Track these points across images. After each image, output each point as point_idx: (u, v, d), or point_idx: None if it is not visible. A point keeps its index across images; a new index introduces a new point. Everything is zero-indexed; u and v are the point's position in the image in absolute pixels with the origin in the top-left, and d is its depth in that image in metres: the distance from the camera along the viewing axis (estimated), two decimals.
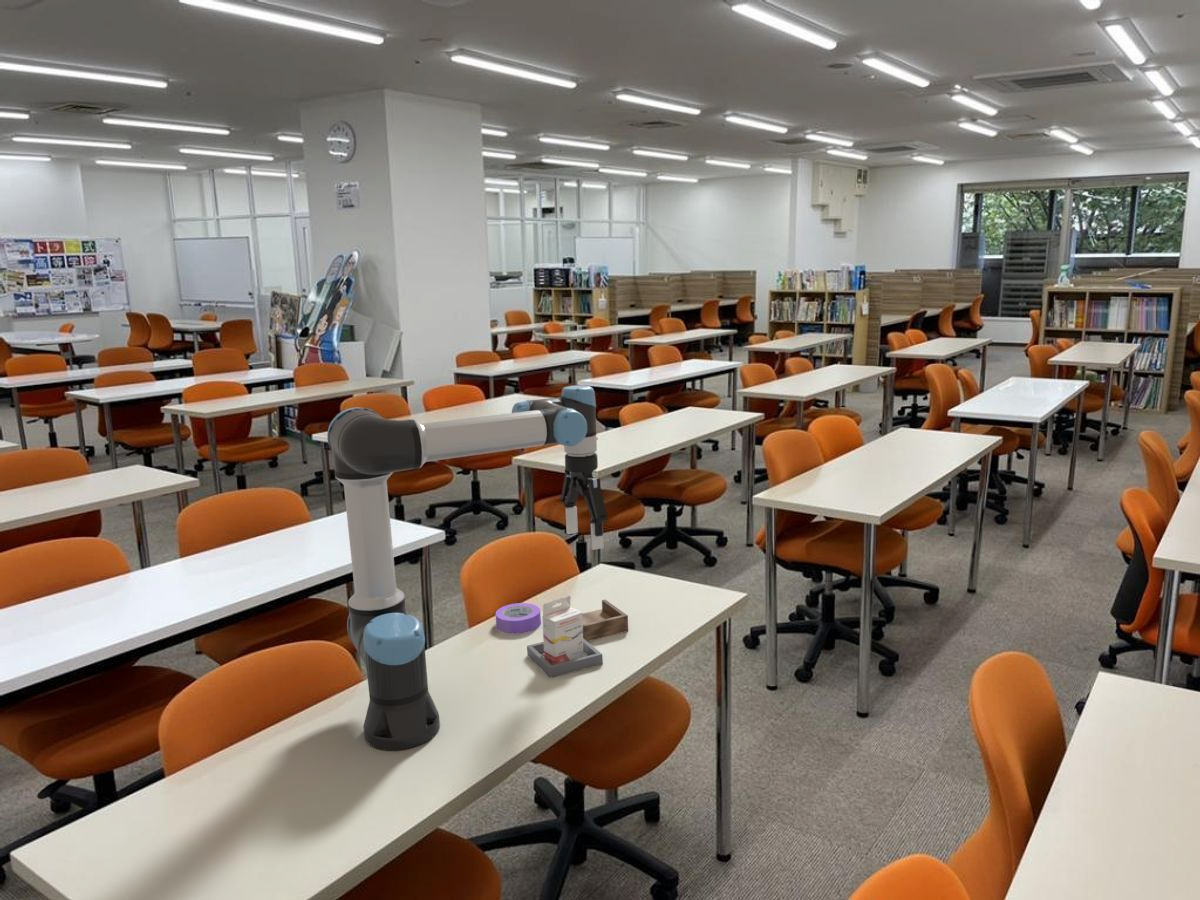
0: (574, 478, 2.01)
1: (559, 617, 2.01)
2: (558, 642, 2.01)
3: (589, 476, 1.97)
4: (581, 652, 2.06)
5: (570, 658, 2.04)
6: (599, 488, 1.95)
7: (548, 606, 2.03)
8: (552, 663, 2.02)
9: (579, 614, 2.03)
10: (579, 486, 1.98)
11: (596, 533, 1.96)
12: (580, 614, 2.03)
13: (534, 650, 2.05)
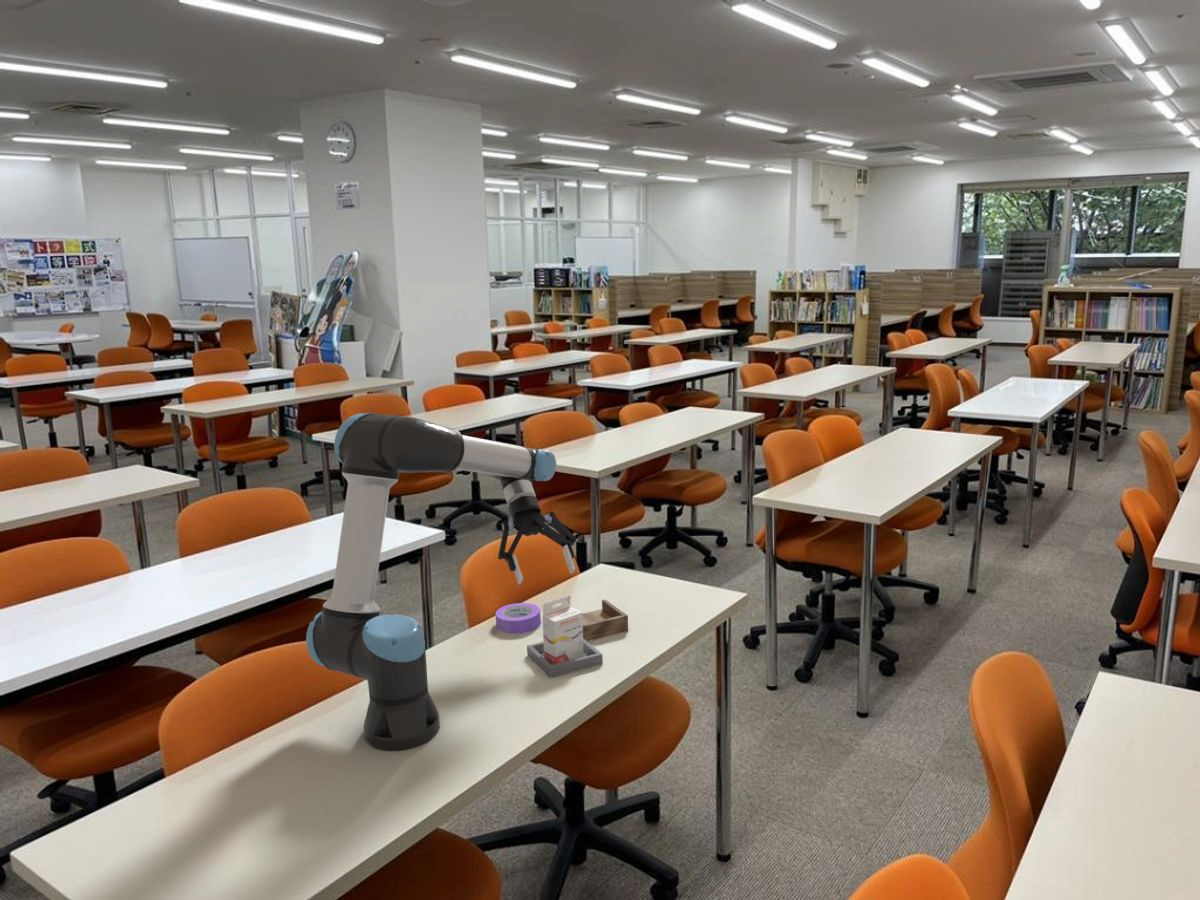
0: None
1: (559, 617, 2.01)
2: (558, 642, 2.01)
3: None
4: (581, 652, 2.06)
5: (570, 658, 2.04)
6: None
7: (548, 606, 2.03)
8: (552, 663, 2.02)
9: (579, 614, 2.03)
10: (540, 521, 2.16)
11: (572, 554, 2.15)
12: (580, 614, 2.03)
13: (534, 650, 2.05)
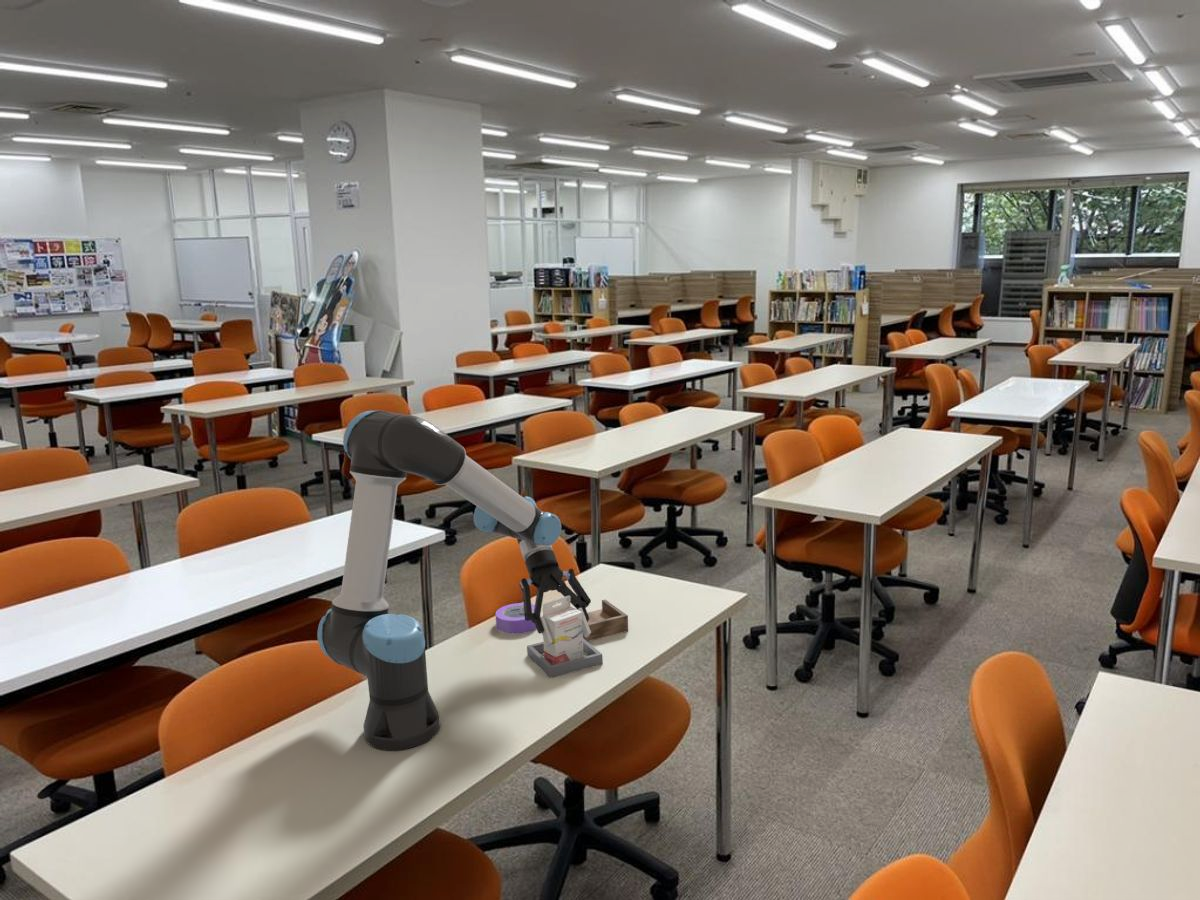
0: None
1: (559, 616, 2.01)
2: (558, 642, 2.01)
3: None
4: (581, 652, 2.06)
5: (570, 658, 2.04)
6: None
7: (548, 606, 2.03)
8: (552, 663, 2.02)
9: (579, 613, 2.03)
10: (557, 577, 2.08)
11: (587, 617, 2.05)
12: (580, 614, 2.03)
13: (534, 650, 2.05)
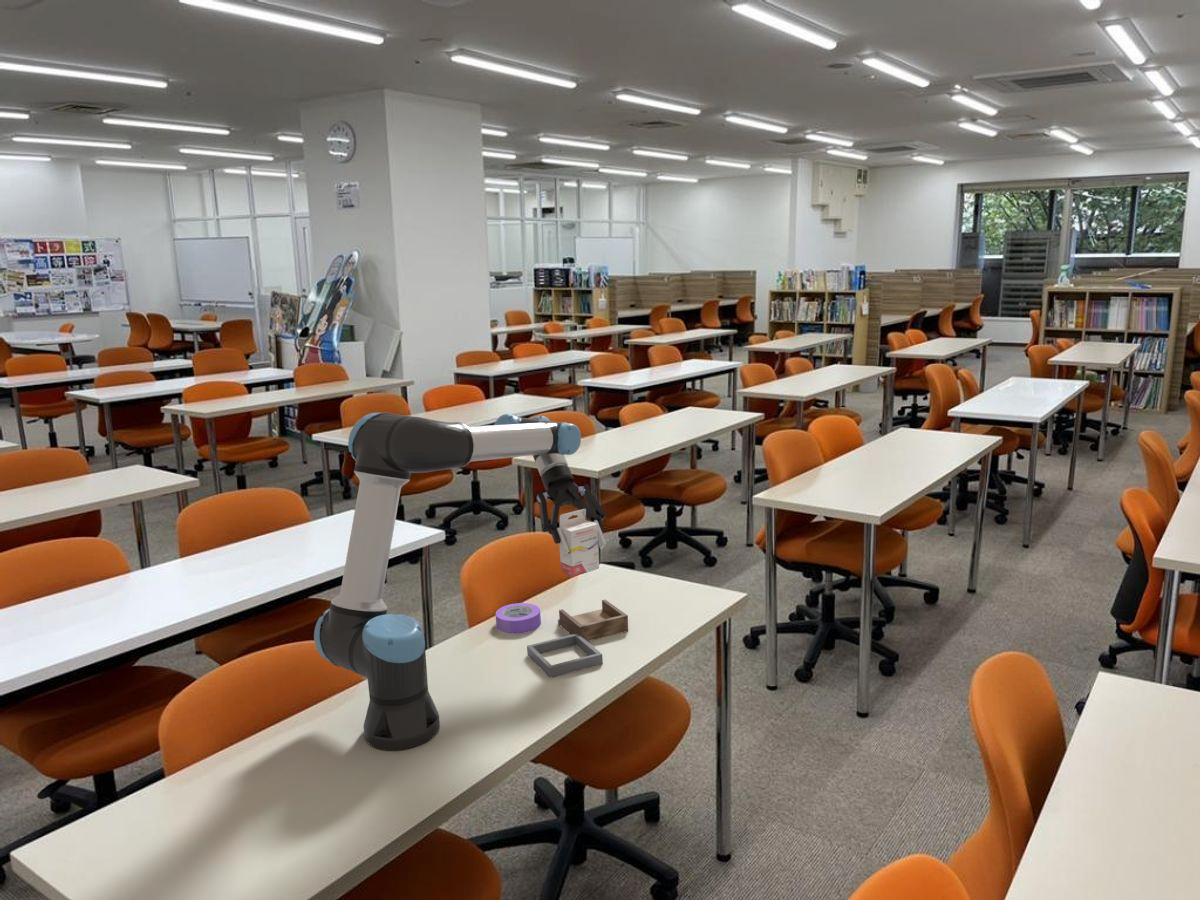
0: None
1: (575, 527, 2.07)
2: (574, 551, 2.06)
3: None
4: (596, 563, 2.11)
5: (586, 569, 2.09)
6: None
7: (564, 517, 2.08)
8: (568, 573, 2.08)
9: (595, 525, 2.09)
10: (573, 492, 2.13)
11: (602, 529, 2.11)
12: (595, 525, 2.09)
13: (534, 650, 2.05)
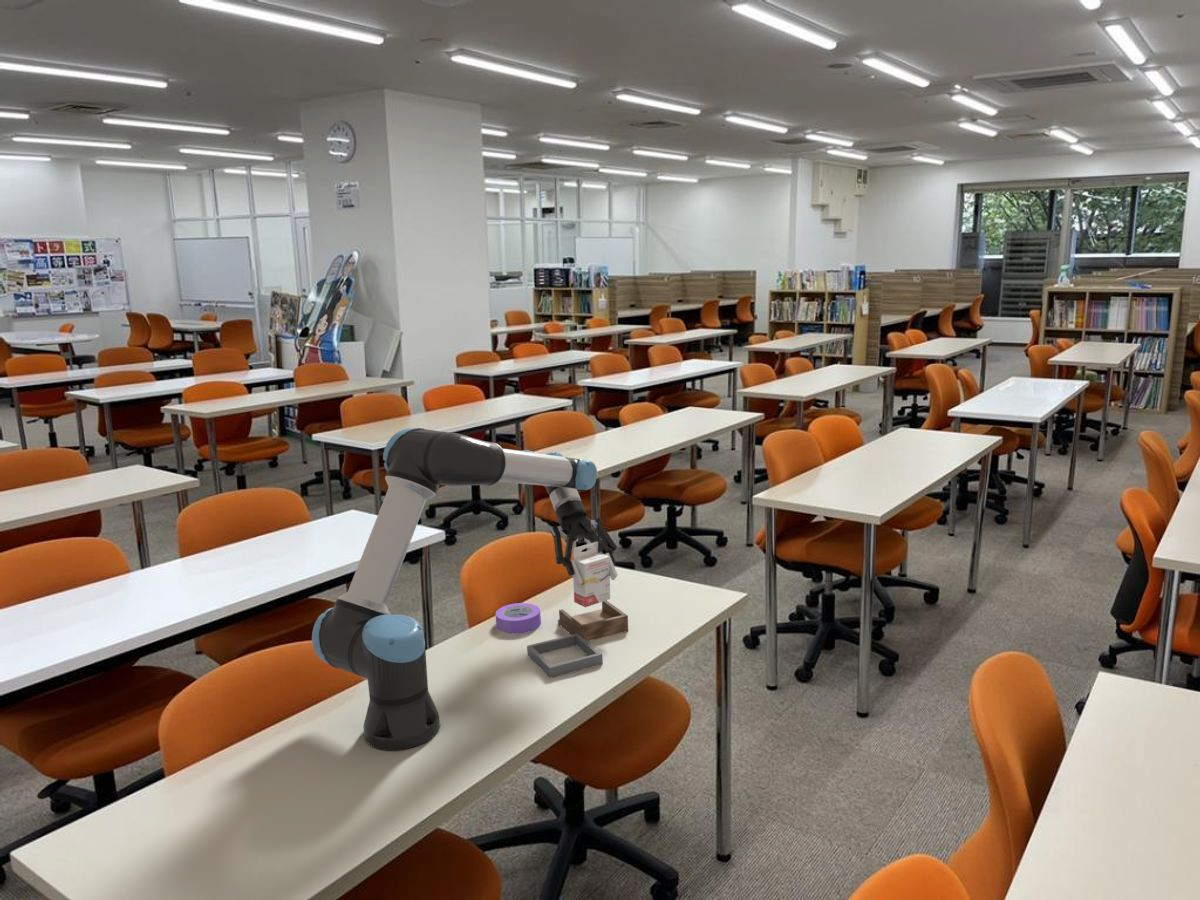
0: None
1: (588, 560, 2.18)
2: (587, 583, 2.17)
3: None
4: (608, 594, 2.22)
5: (598, 599, 2.20)
6: None
7: (578, 550, 2.19)
8: (582, 603, 2.18)
9: (607, 557, 2.20)
10: (586, 525, 2.24)
11: (613, 561, 2.22)
12: (607, 558, 2.20)
13: (534, 650, 2.05)
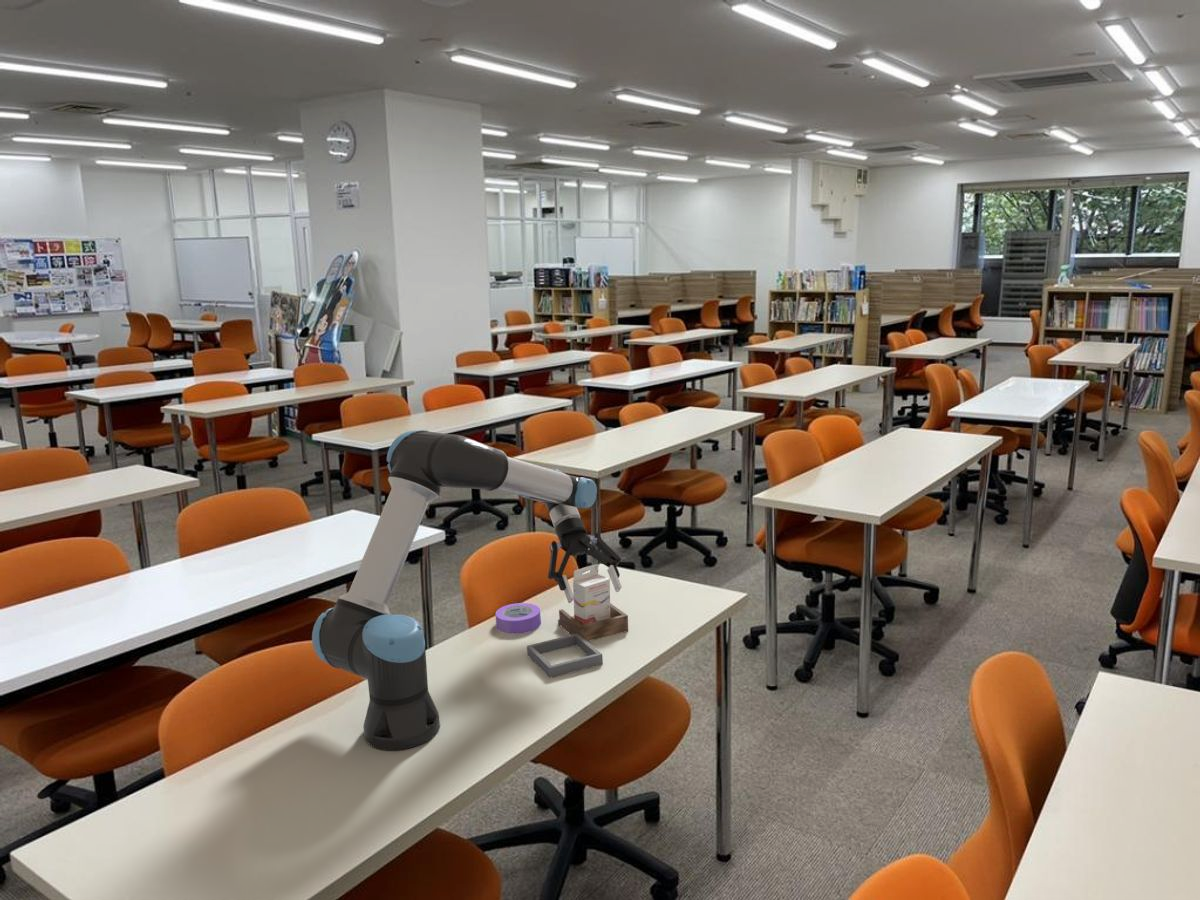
0: None
1: (589, 582, 2.19)
2: (587, 605, 2.18)
3: None
4: (608, 616, 2.23)
5: None
6: None
7: (578, 573, 2.20)
8: None
9: (607, 580, 2.21)
10: (586, 542, 2.25)
11: (617, 573, 2.24)
12: (607, 580, 2.21)
13: (534, 650, 2.05)
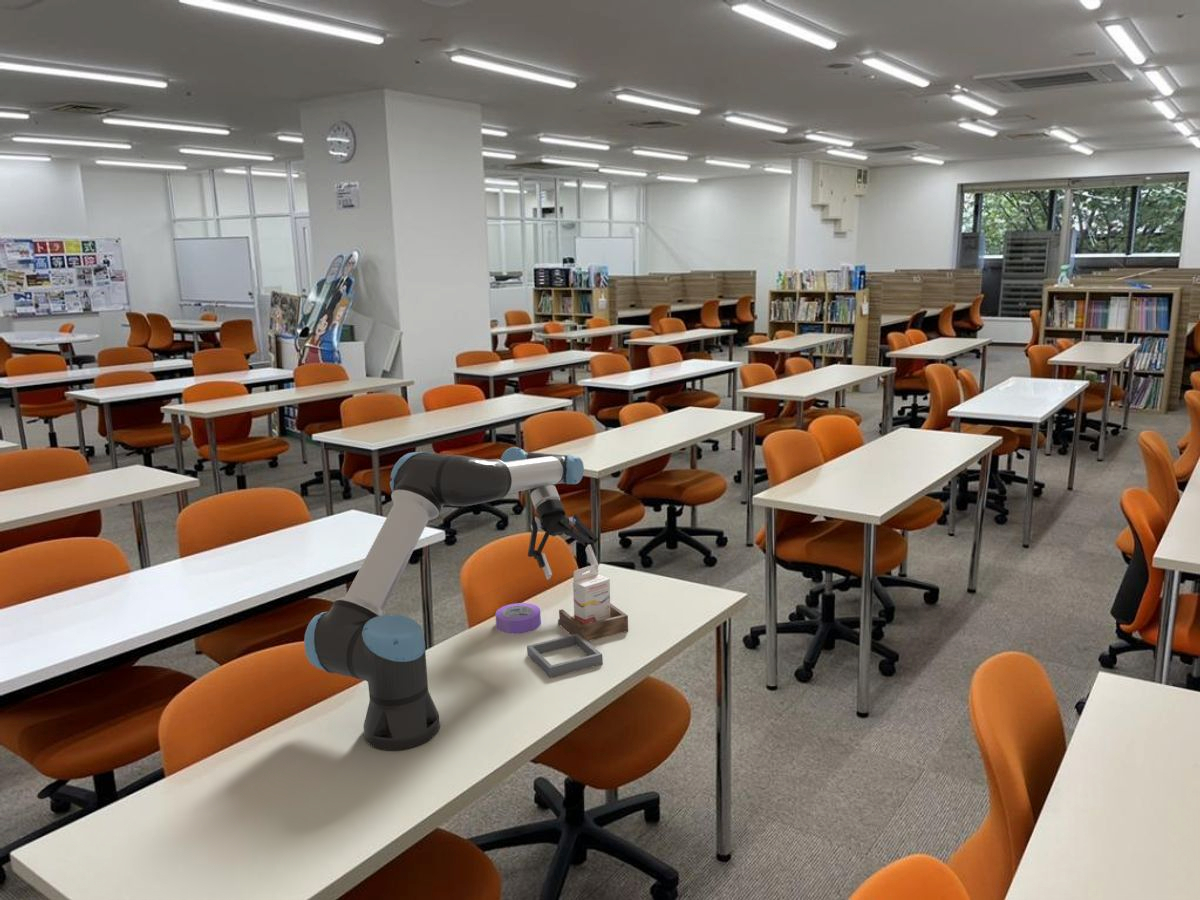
0: None
1: (589, 582, 2.19)
2: (587, 605, 2.18)
3: None
4: (608, 616, 2.23)
5: None
6: None
7: (578, 573, 2.20)
8: None
9: (607, 580, 2.21)
10: (565, 523, 2.36)
11: (595, 552, 2.35)
12: (607, 580, 2.21)
13: (534, 650, 2.05)
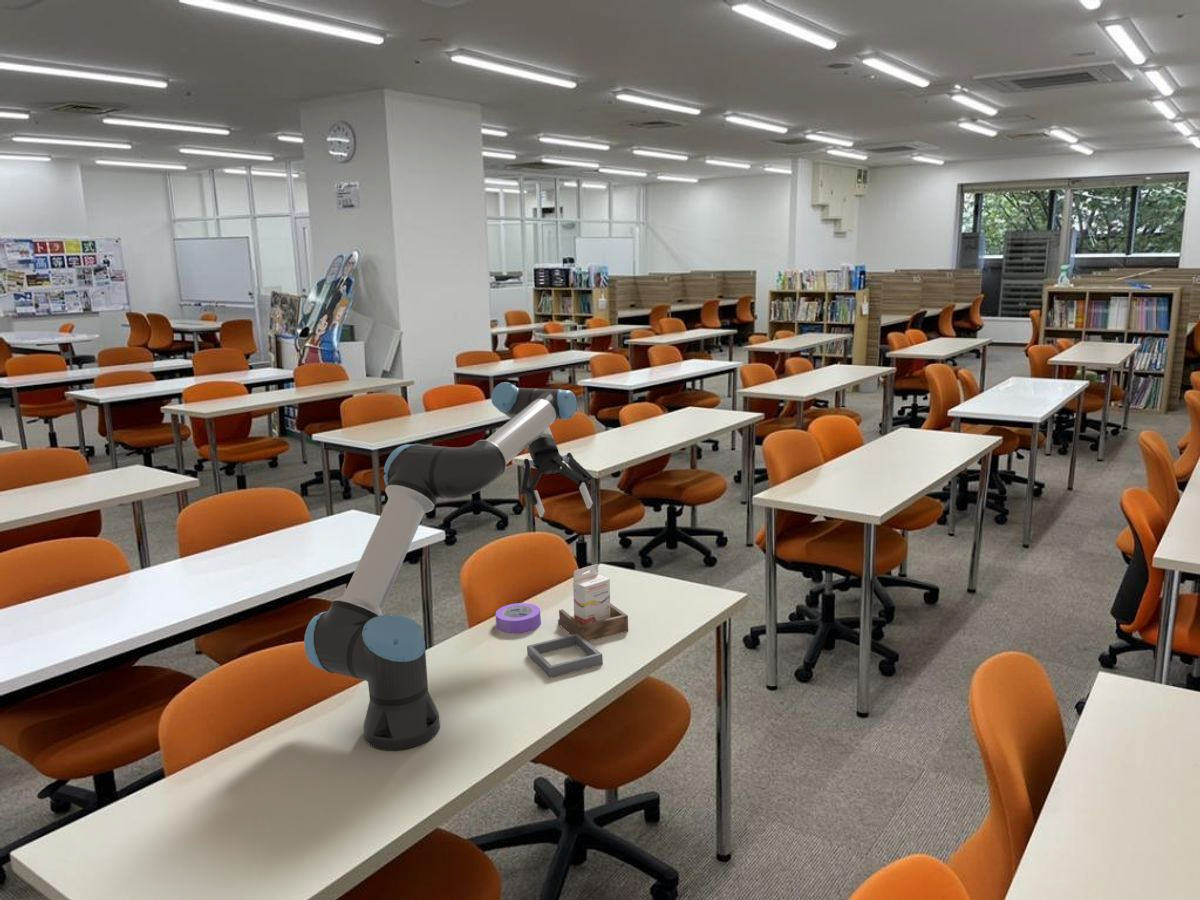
0: None
1: (589, 582, 2.19)
2: (587, 605, 2.18)
3: None
4: (608, 616, 2.23)
5: None
6: None
7: (578, 573, 2.20)
8: None
9: (607, 580, 2.21)
10: (558, 460, 2.29)
11: (589, 491, 2.28)
12: (607, 580, 2.21)
13: (534, 650, 2.05)
